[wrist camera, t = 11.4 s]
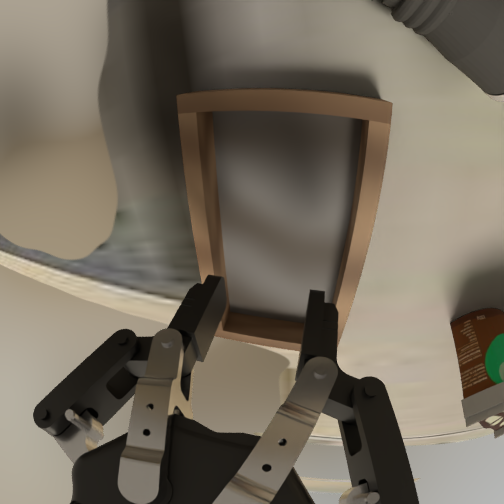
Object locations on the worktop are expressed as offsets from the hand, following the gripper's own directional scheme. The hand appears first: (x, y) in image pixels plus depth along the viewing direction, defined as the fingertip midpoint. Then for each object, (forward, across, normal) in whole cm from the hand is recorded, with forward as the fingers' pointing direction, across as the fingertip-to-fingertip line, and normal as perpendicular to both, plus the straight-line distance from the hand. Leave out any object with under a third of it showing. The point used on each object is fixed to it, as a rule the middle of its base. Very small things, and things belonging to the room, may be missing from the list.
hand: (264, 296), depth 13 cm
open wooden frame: (+6, 0, 0) cm, 6 cm away
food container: (+6, -21, +7) cm, 23 cm away
